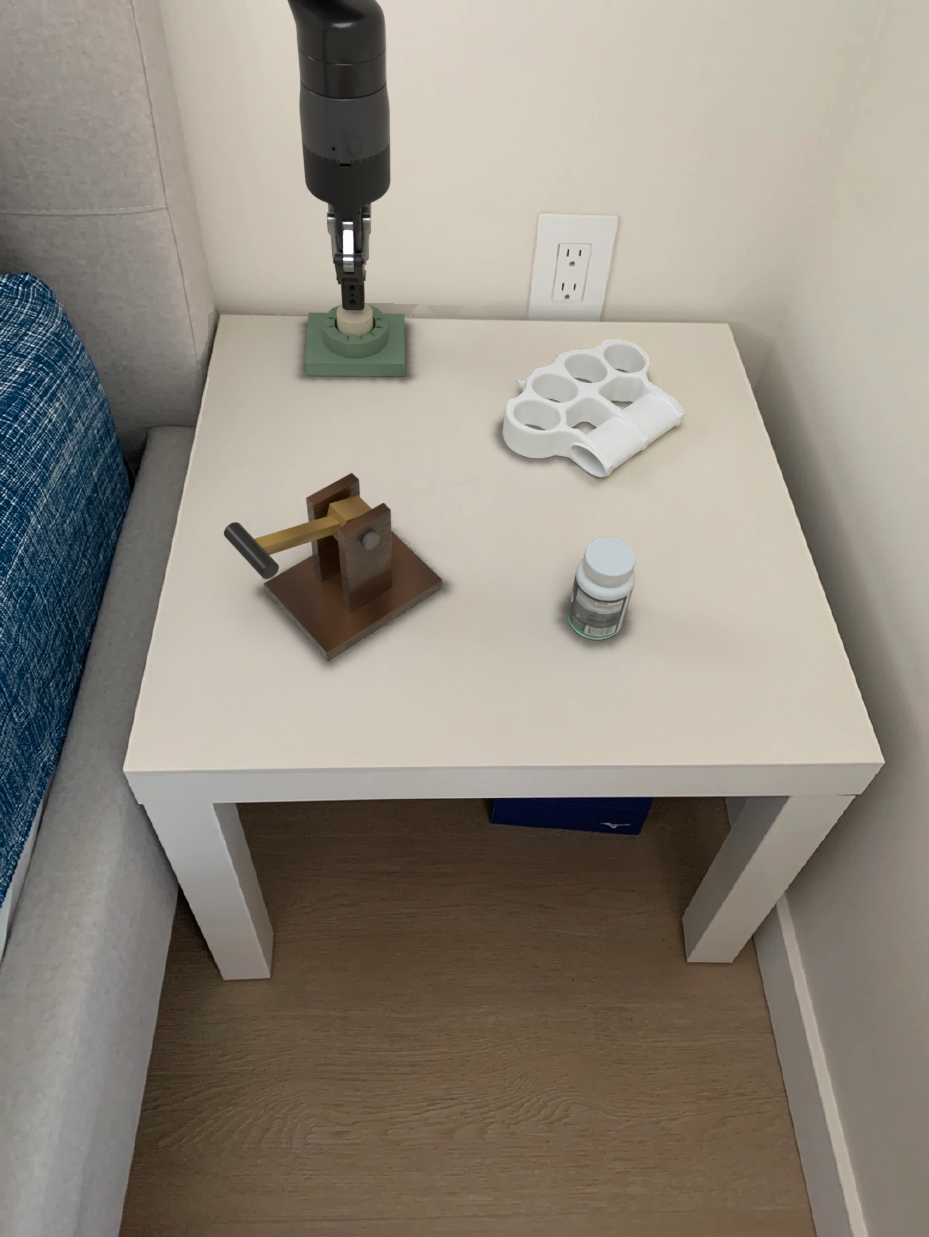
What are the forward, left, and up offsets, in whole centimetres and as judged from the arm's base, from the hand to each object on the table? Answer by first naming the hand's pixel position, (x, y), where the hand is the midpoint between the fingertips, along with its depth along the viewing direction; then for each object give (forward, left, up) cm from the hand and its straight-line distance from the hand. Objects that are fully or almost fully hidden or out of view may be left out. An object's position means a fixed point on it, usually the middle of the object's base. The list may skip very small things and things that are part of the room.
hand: (353, 306), depth 97 cm
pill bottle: (-5, -40, -6) cm, 41 cm away
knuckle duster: (+12, -22, -6) cm, 26 cm away
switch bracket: (-19, -25, -6) cm, 32 cm away
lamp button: (0, 0, -3) cm, 3 cm away
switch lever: (-23, -25, +3) cm, 34 cm away
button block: (0, 0, -6) cm, 6 cm away
